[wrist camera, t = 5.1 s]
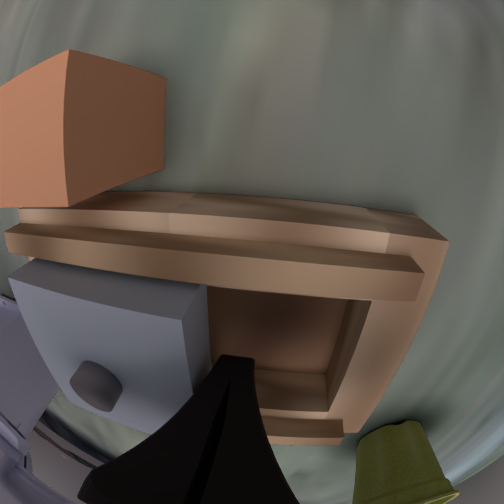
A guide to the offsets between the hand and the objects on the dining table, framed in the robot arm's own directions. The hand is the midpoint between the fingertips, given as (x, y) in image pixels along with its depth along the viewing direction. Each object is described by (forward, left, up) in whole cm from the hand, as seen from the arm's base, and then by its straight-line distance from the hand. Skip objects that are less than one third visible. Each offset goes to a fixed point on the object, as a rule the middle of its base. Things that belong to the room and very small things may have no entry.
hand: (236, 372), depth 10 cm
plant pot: (+13, -13, -4) cm, 19 cm away
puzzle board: (-2, 0, -4) cm, 4 cm away
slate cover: (-5, 0, -1) cm, 5 cm away
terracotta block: (-6, +9, -4) cm, 11 cm away
